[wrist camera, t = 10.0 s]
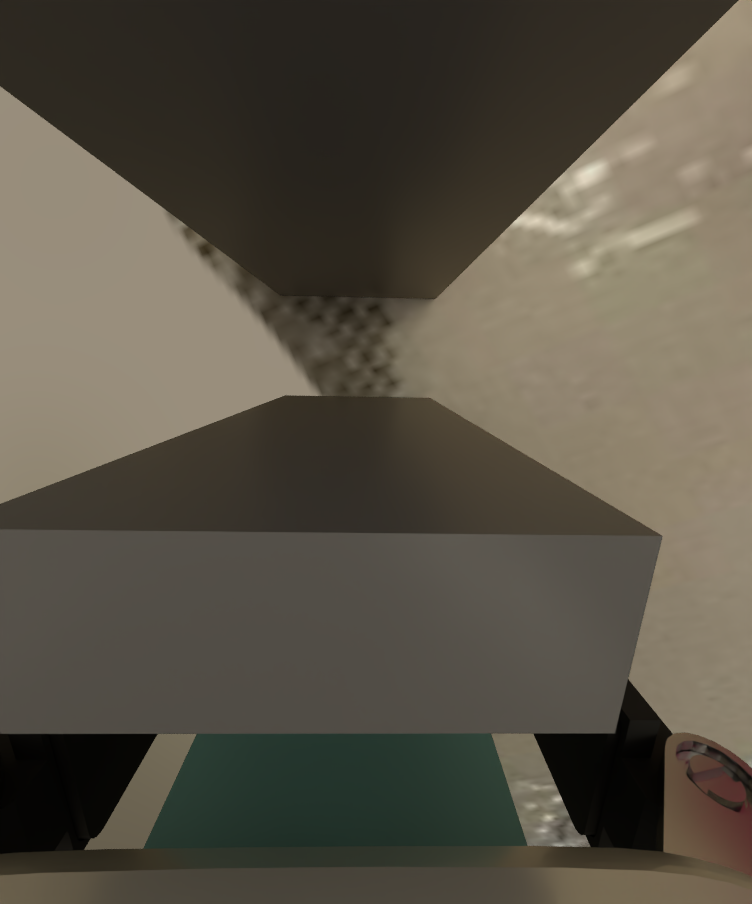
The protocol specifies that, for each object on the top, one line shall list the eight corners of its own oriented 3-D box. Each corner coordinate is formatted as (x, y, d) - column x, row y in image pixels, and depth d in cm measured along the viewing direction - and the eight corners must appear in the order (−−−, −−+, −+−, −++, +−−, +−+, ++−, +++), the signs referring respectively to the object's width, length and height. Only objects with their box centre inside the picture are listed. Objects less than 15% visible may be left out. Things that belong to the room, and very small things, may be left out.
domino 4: (427, 448, 13) (614, 733, 3) (287, 446, 13) (-1, 734, 3) (429, 397, 12) (663, 537, 2) (285, 395, 12) (-66, 528, 2)
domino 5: (435, 298, 11) (809, -70, 2) (280, 295, 11) (-272, -118, 2) (438, 236, 11) (976, -756, 1) (277, 232, 11) (-513, -873, 1)
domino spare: (422, 570, 14) (543, 1057, 4) (294, 570, 14) (114, 1067, 4) (424, 528, 13) (566, 964, 4) (292, 527, 13) (85, 973, 4)
